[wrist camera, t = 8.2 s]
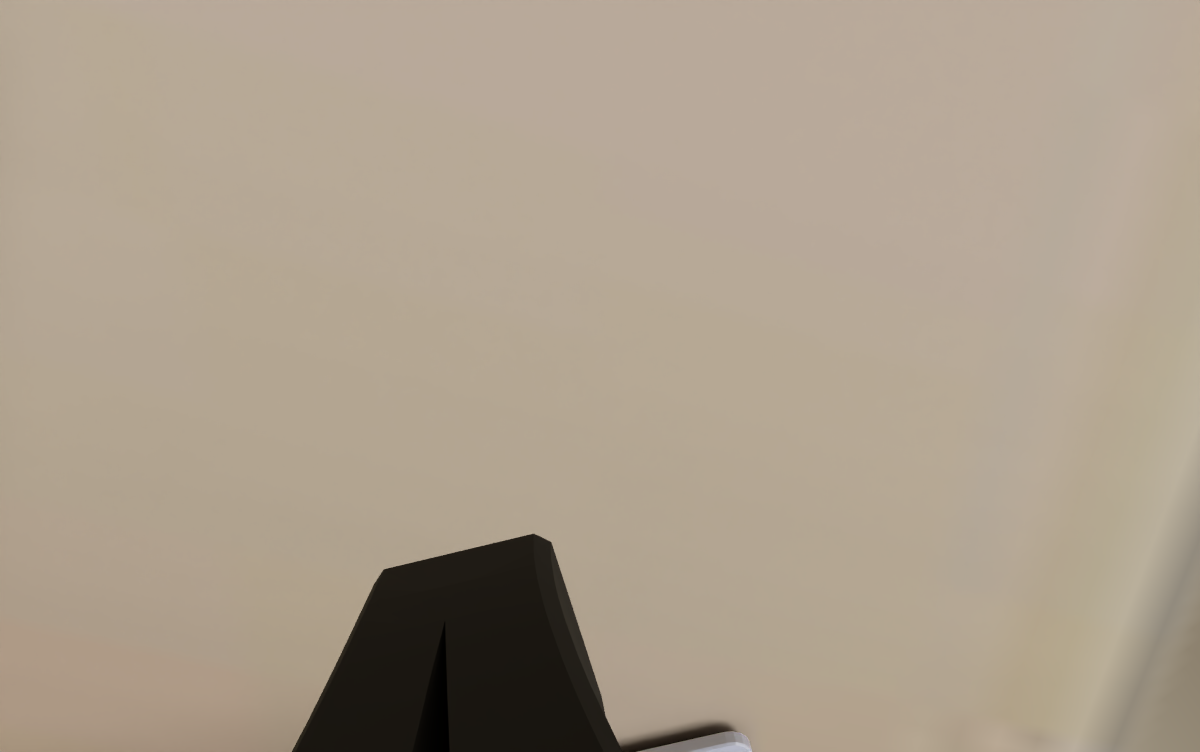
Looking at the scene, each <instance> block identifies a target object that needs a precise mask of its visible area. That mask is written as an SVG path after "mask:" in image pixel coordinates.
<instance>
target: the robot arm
mask: <svg viewBox="0 0 1200 752" xmlns="http://www.w3.org/2000/svg"><path fill="white" fill-rule="evenodd" d="M292 752H622V750H621V748H620V746H619V744H618V742H617V740H616V738H615V735H614V733H613V731H612V729H611V727H610V725H609V723H608V721H607V719H606V717H605V712H604V707H603V702H602V697H601V694H600V691H599V687H598V684H597V681H596V678H595V675H594V672H593V669H592V666H591V663H590V660H589V657H588V654H587V651H586V648H585V645H584V641H583V638H582V635H581V632H580V629H579V626H578V623H577V620H576V617H575V614H574V611H573V608H572V605H571V602H570V598H569V595H568V592H567V589H566V586H565V583H564V580H563V577H562V574H561V571H560V568H559V565H558V562H557V559H556V556H555V552H554V549H553V546H552V543H551V542H550V541H548V540H546V539H544V538H542V537H540V536H537V535H535V534H531V535H526V536H522V537H518V538H514V539H510V540H505V541H501V542H497V543H493V544H489V545H485V546H480V547H476V548H472V549H468V550H464V551H459V552H455V553H451V554H447V555H443V556H438V557H434V558H430V559H426V560H422V561H417V562H413V563H409V564H405V565H401V566H396V567H392V568H388V569H384V570H383V572H382V573H381V575H380V576H379V578H378V579H377V581H376V582H375V584H374V586H373V588H372V590H371V592H370V594H369V596H368V598H367V600H366V603H365V605H364V607H363V609H362V611H361V613H360V615H359V617H358V619H357V622H356V624H355V626H354V628H353V630H352V632H351V634H350V636H349V638H348V641H347V643H346V645H345V647H344V649H343V651H342V653H341V655H340V657H339V659H338V661H337V663H336V666H335V668H334V670H333V672H332V674H331V676H330V678H329V680H328V682H327V684H326V686H325V688H324V690H323V692H322V694H321V696H320V698H319V700H318V702H317V704H316V706H315V708H314V710H313V712H312V714H311V716H310V718H309V720H308V722H307V724H306V726H305V728H304V730H303V732H302V734H301V735H300V737H299V739H298V741H297V743H296V745H295V747H294V749H293V751H292ZM637 752H752V749H751V745H750V742H749V740H748V738H747V736H745V735H743V734H742V733H739V732H734V731H728V732H721V733H717V734H712V735H708V736H704V737H699V738H695V739H690V740H686V741H681V742H677V743H673V744H668V745H664V746H659V747H655V748H651V749H646V750H642V751H637Z"/></svg>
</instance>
